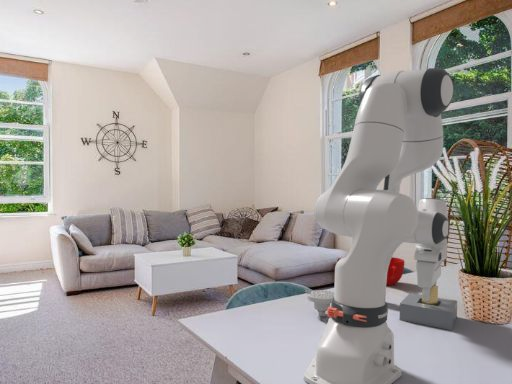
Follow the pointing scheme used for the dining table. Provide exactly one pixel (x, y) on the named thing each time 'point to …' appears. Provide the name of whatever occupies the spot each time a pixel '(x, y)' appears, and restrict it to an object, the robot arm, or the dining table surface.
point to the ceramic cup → (394, 271)
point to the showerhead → (320, 300)
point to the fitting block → (429, 312)
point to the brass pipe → (432, 296)
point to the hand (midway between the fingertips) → (429, 296)
